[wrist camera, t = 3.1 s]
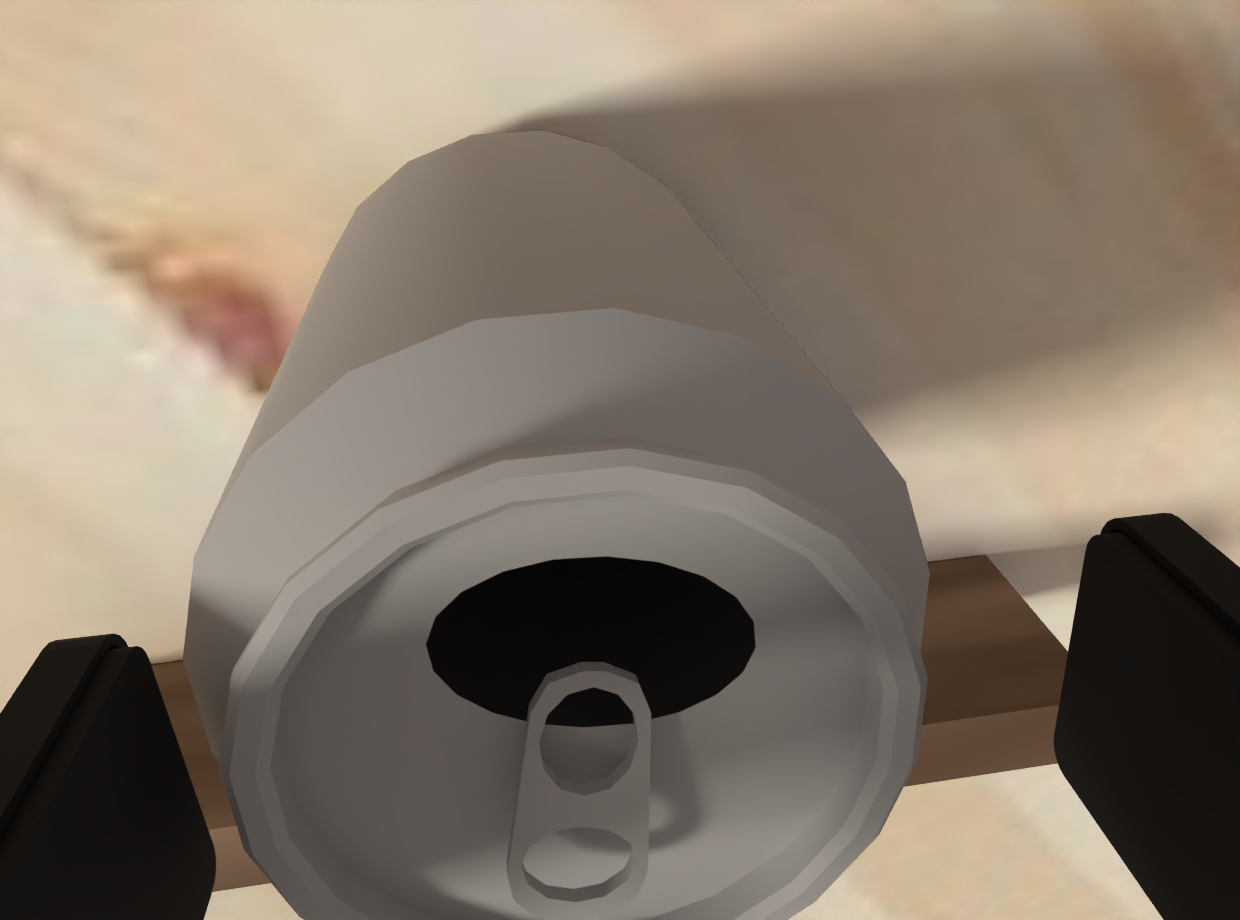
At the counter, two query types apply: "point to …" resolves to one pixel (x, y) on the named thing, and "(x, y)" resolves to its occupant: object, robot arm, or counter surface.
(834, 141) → the counter surface
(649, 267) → the can
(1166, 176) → the counter surface
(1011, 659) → the low wall
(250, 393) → the counter surface
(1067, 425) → the counter surface
